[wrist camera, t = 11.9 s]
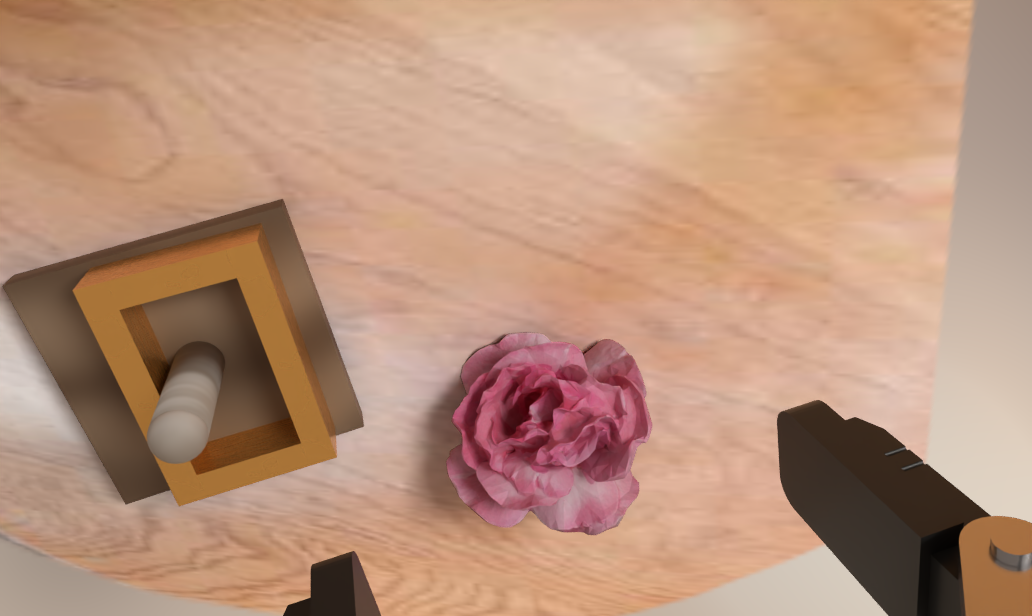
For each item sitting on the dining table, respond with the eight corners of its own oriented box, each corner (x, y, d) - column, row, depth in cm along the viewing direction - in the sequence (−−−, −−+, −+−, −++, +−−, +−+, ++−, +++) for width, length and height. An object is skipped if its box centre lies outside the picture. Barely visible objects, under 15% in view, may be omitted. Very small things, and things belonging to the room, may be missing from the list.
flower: (427, 350, 47) (472, 314, 38) (576, 345, 50) (650, 311, 41) (440, 543, 44) (492, 555, 35) (595, 525, 48) (679, 530, 39)
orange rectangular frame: (90, 267, 36) (72, 290, 33) (261, 222, 37) (257, 241, 34) (187, 472, 41) (178, 506, 38) (335, 427, 42) (337, 457, 39)
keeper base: (13, 275, 36) (-80, 364, 28) (282, 198, 38) (274, 260, 29) (131, 487, 42) (84, 618, 33) (362, 413, 44) (374, 518, 35)
